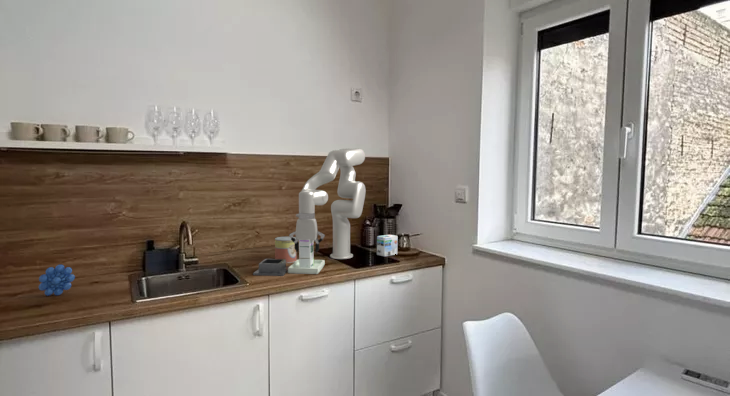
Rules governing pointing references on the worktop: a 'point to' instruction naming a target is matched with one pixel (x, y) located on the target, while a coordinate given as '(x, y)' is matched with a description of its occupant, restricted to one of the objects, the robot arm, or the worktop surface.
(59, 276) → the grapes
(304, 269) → the tray
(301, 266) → the syrup box
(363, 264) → the worktop surface
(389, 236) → the light bulb box
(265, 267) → the sleeve holder
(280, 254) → the canned food
